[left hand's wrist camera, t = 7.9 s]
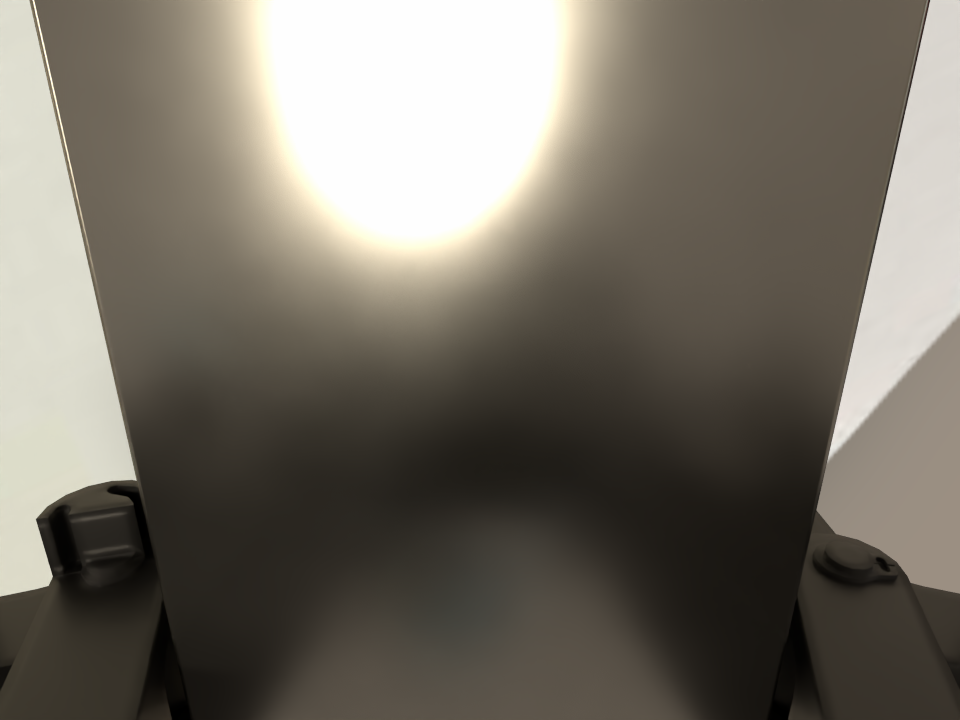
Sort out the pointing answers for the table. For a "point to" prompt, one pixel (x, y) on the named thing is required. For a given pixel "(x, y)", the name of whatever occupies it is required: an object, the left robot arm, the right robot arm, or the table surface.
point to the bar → (479, 333)
